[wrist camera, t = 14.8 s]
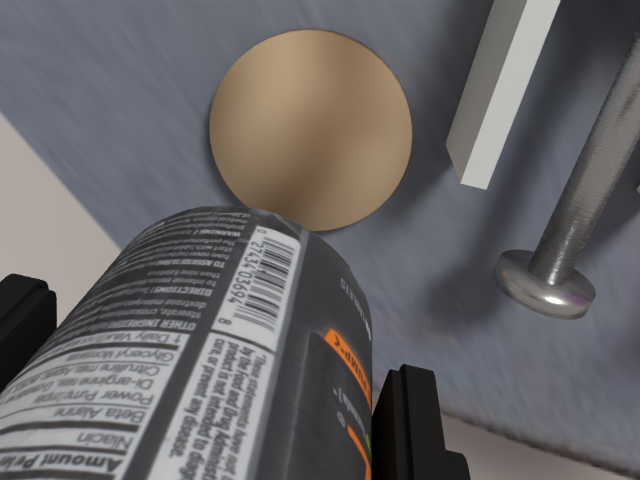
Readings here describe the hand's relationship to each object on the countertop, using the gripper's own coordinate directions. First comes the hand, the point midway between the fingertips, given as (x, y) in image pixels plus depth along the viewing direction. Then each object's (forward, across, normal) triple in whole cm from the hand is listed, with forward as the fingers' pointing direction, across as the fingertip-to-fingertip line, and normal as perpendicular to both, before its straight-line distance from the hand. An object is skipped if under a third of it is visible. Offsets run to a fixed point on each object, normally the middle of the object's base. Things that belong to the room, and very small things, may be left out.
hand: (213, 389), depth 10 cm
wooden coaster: (+17, 0, 0) cm, 17 cm away
